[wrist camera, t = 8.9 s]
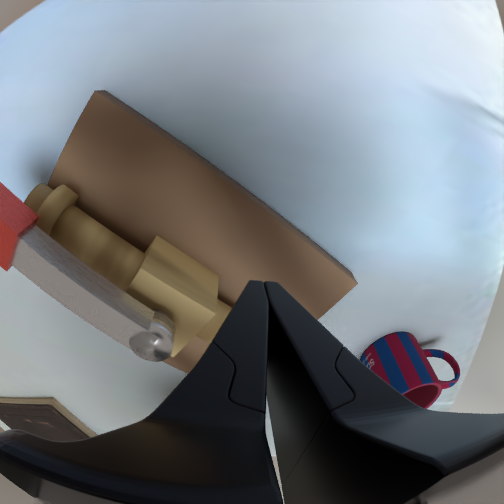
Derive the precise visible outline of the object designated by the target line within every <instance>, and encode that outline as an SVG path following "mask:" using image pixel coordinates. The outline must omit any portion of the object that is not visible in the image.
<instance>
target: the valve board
mask: <svg viewBox="0 0 504 504" xmlns="http://www.w3.org/2000/svg"><path fill="white" fill-rule="evenodd" d="M24 204H25V205H27V206H28V207H29V208H30V209H31V210H33V211H34V212H35V213H36V214H37V215H38V216H39V219H38V221H37V223H36V226H37V227H39V228H40V229H41V230H42V231H43V232H45V233H46V234H47V235H48V236H50V237H51V238H52V239H53V240H55V241H56V242H57V243H58V244H60V245H61V246H62V247H64V248H65V249H66V250H67V251H69V252H70V253H71V254H73V255H74V256H75V257H77V258H78V259H79V260H81V261H82V262H83V263H85V264H86V265H87V266H89V267H90V268H91V269H93V270H94V271H96V272H97V273H98V274H100V275H101V276H103V277H104V278H105V279H107V280H108V281H110V282H111V283H112V284H114V285H115V286H117V287H118V288H120V289H121V290H123V291H124V292H126V293H127V294H129V295H130V296H131V297H133V298H134V299H136V300H137V301H139V302H141V303H142V304H144V305H145V306H147V307H148V308H150V309H151V310H153V311H154V312H159V313H162V314H164V315H166V316H167V317H169V318H170V319H171V320H172V321H173V323H174V324H175V327H176V333H175V338H174V343H173V348H172V353H171V355H170V357H169V358H167V359H166V360H163V362H165V363H167V364H169V365H171V366H173V367H175V368H177V369H179V370H181V371H184V372H186V373H189V372H190V371H191V370H192V369H193V367H194V366H195V365H196V364H197V362H198V361H199V360H200V358H201V357H202V355H203V354H204V352H205V351H206V349H207V348H208V346H209V344H210V343H211V342H212V340H213V338H214V337H215V335H216V333H217V332H218V330H219V328H220V327H221V325H222V324H223V322H224V320H225V319H226V317H227V315H228V314H229V312H230V311H231V309H232V307H233V306H234V304H235V302H236V301H237V299H238V298H239V296H240V294H241V293H242V291H243V289H244V288H245V286H246V284H247V283H248V281H249V280H259V281H263V283H264V282H265V281H273V282H278V283H279V284H280V285H281V286H282V287H283V288H284V289H285V290H286V291H288V292H289V293H290V294H291V295H292V296H293V297H294V298H295V299H296V300H297V301H298V302H299V303H300V304H301V305H302V306H303V307H304V308H305V309H306V310H307V311H308V312H309V313H310V314H311V315H312V316H314V317H315V318H316V319H317V320H318V319H319V318H320V317H321V316H323V315H324V314H325V313H326V312H327V311H328V310H329V309H330V308H332V307H333V306H334V305H335V304H336V303H337V302H338V301H339V300H340V299H342V298H343V297H344V296H345V295H346V294H347V293H348V292H349V291H350V290H351V289H352V288H354V287H355V286H356V285H357V284H358V283H357V281H356V280H355V278H354V276H353V274H352V273H351V272H350V271H349V270H348V269H347V268H345V267H344V266H343V265H342V264H341V263H339V262H338V261H337V260H336V259H334V258H333V257H332V256H331V255H330V254H328V253H327V252H326V251H325V250H323V249H322V248H321V247H320V246H318V245H317V244H316V243H315V242H313V241H312V240H311V239H310V238H308V237H307V236H306V235H305V234H303V233H302V232H301V231H300V230H298V229H297V228H296V227H294V226H293V225H292V224H291V223H289V222H288V221H287V220H286V219H284V218H283V217H282V216H280V215H279V214H278V213H276V212H275V211H274V210H273V209H271V208H270V207H269V206H267V205H266V204H265V203H263V202H262V201H261V200H260V199H258V198H257V197H256V196H254V195H253V194H252V193H250V192H249V191H248V190H246V189H245V188H244V187H242V186H241V185H240V184H238V183H237V182H236V181H234V180H233V179H232V178H230V177H229V176H227V175H226V174H225V173H223V172H222V171H221V170H219V169H218V168H217V167H215V166H214V165H212V164H211V163H210V162H208V161H207V160H206V159H204V158H203V157H201V156H200V155H199V154H197V153H196V152H194V151H193V150H192V149H190V148H189V147H187V146H186V145H185V144H183V143H182V142H180V141H179V140H177V139H176V138H175V137H173V136H172V135H170V134H169V133H167V132H166V131H165V130H163V129H162V128H160V127H159V126H157V125H156V124H154V123H153V122H151V121H150V120H149V119H147V118H146V117H144V116H143V115H141V114H140V113H138V112H137V111H135V110H134V109H132V108H131V107H129V106H128V105H126V104H125V103H123V102H122V101H120V100H119V99H117V98H116V97H114V96H113V95H111V94H109V93H108V92H106V91H105V90H101V91H94V93H93V95H92V96H91V98H90V100H89V101H88V103H87V105H86V107H85V108H84V110H83V112H82V114H81V116H80V117H79V119H78V121H77V123H76V125H75V127H74V129H73V131H72V133H71V134H70V136H69V138H68V140H67V143H66V145H65V147H64V149H63V151H62V153H61V155H60V157H59V159H58V162H57V164H56V166H55V168H54V171H53V173H52V175H51V178H50V180H49V183H48V185H46V184H45V183H41V184H39V185H37V186H36V187H35V188H34V189H33V190H32V191H31V193H30V194H29V195H28V197H27V198H26V200H25V202H24Z"/></svg>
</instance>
